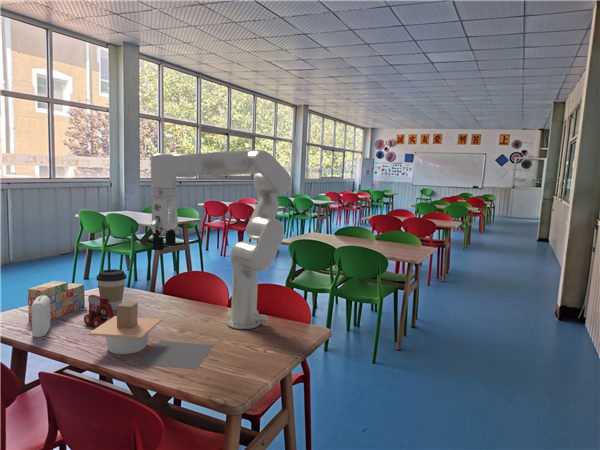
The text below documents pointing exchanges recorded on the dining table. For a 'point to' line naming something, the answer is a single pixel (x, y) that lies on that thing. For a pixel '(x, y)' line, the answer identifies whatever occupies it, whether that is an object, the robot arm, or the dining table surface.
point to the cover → (126, 323)
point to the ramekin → (126, 344)
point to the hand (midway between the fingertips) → (164, 247)
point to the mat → (176, 355)
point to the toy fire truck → (98, 311)
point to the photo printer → (40, 316)
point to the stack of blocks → (58, 297)
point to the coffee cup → (112, 286)
